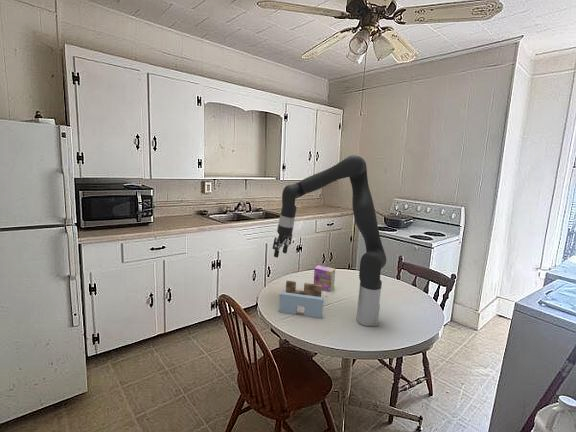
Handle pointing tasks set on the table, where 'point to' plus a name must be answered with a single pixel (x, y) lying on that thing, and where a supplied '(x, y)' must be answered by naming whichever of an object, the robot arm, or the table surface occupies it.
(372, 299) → the robot arm
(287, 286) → the slotted board
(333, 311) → the table surface
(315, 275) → the box
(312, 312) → the notched plate
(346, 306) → the table surface
